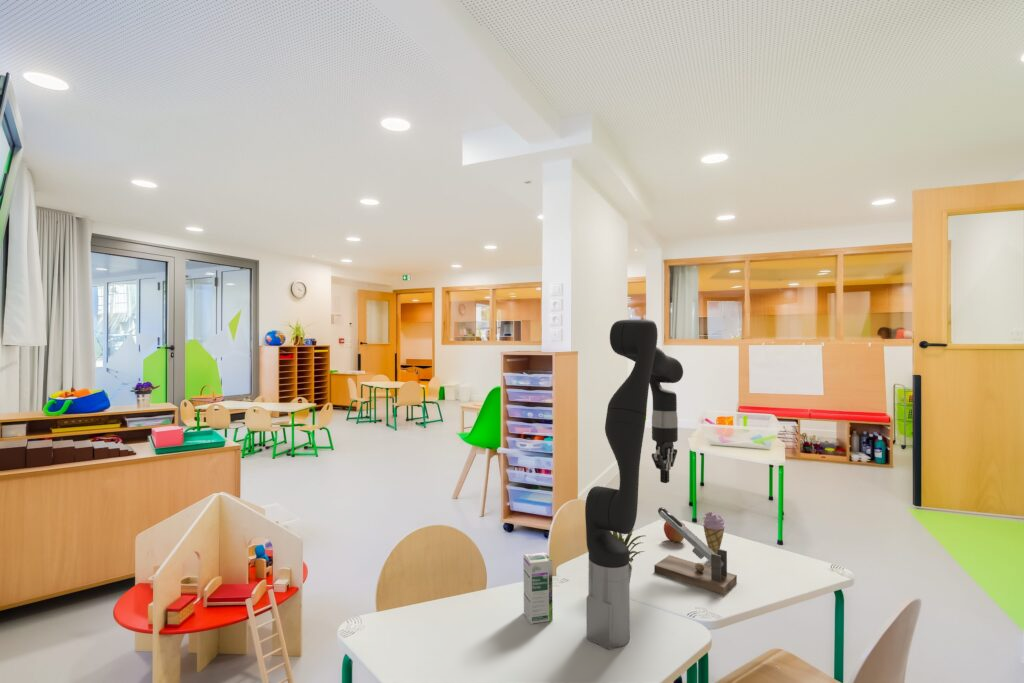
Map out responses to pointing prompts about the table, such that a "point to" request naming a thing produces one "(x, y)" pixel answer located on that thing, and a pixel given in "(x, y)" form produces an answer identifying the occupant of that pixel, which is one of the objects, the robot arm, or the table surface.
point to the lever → (688, 535)
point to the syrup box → (538, 587)
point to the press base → (699, 572)
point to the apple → (672, 533)
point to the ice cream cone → (713, 530)
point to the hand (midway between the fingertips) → (664, 482)
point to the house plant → (628, 547)
